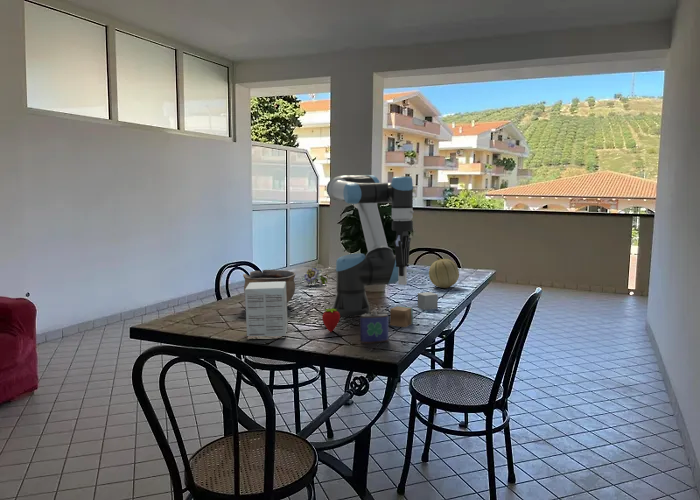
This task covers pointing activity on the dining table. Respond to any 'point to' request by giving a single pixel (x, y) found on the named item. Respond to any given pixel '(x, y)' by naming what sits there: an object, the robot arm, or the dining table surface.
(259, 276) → the ceramic bowl
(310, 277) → the passion flower
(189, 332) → the dining table surface
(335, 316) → the strawberry
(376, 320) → the flask
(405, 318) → the brown and green cube
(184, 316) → the dining table surface
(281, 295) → the supplement box
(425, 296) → the grey block
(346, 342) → the dining table surface
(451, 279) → the cantaloupe
